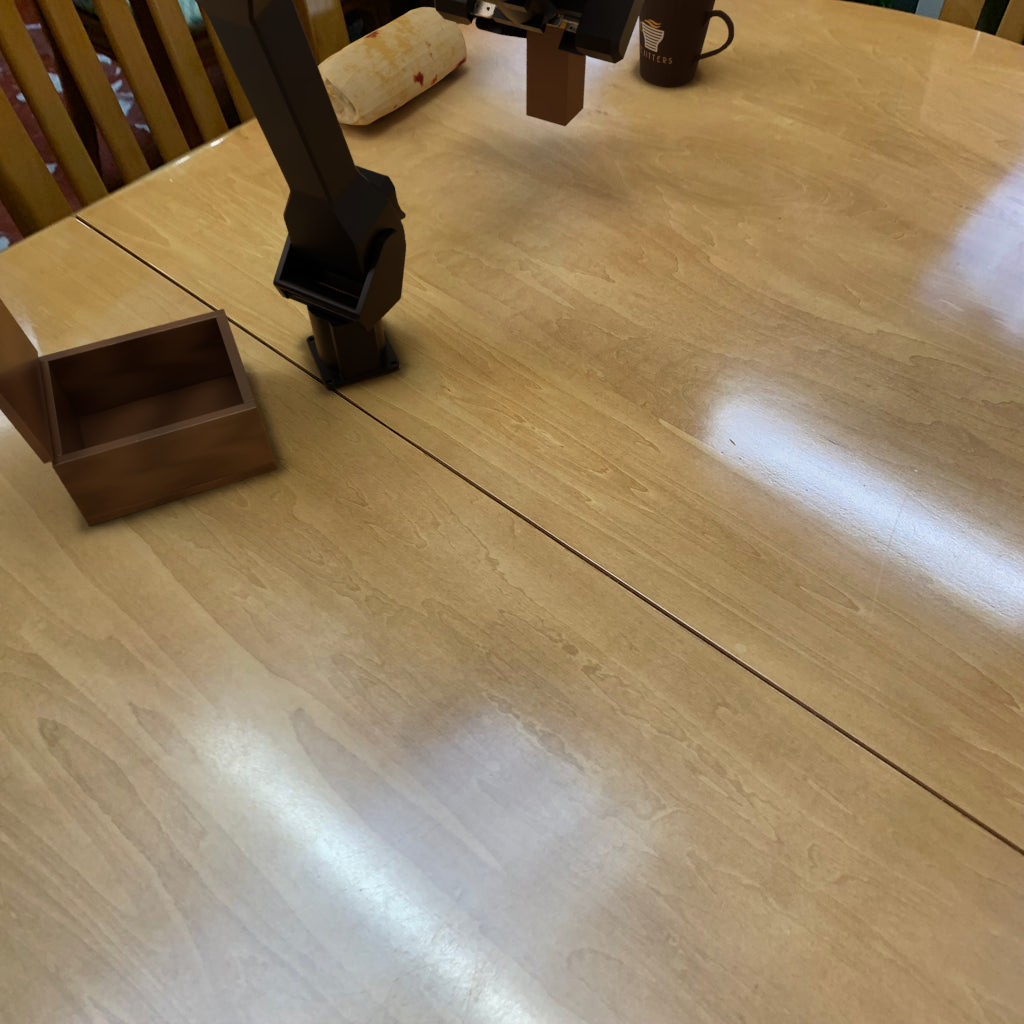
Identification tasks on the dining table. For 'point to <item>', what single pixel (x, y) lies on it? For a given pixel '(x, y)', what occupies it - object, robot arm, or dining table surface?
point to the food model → (392, 65)
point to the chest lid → (23, 386)
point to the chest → (152, 417)
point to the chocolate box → (553, 78)
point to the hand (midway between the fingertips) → (563, 40)
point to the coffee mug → (676, 39)
